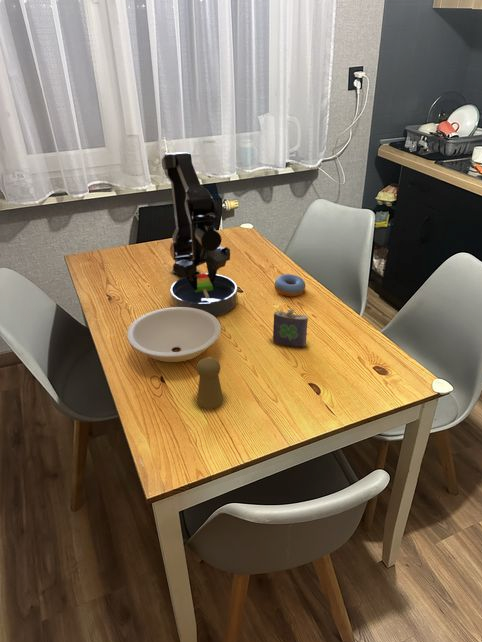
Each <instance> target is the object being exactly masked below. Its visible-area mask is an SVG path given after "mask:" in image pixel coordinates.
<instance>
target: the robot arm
mask: <svg viewBox="0 0 482 642" xmlns="http://www.w3.org/2000/svg"><path fill="white" fill-rule="evenodd" d="M161 167H162V170H163V171H164V175H165V176H166V178H167V179H168V181H169V182H170V186H171V196H172V203H173V205H172V206H173V213H174V221H175V230H174V231H173V233H172V237H171V240H172V242H171V243H170V247H169V253H170V256H171V258H172V259H173V261H174V263H173V264H172V274H175V275H177V276H180V277H181V278H183V277H186V278H187V279H188V281H189V282H190V284H191V286H192V288H193V289H194V290H195V291H196V290H197V276H198V275H199V274H201V272H200V271H199V269H197V267H200V266H201V265H203V264H206V269H207V274H208V275H209V279H210V282H214V279H215V276H216V274H218V270H220V269H221V268H224V267H226V264H227V262H229V261H230V260H231V249H230V248H229V247H228V246H222V245H221V244H222V235H221V234H220V232H218V230H216V228H215V225H214V223H219V218H218V217H219V211H218V208H217V205H216V202H215V199H214V198H213V197H212V195H211V193H210V192H209V190H208V188H206V187H204V186H202V183H201V182H200V180H199V176H198V174H197V172H196V170H195V167H194V164H193V160H192V154H191V153H190V152H185V151H184V152H169V153H164V156H162V157H161Z"/></svg>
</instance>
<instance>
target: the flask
mask: <svg viewBox="0 0 482 642" xmlns="http://www.w3.org/2000/svg"><path fill="white" fill-rule="evenodd" d="M294 311H295V309H294V308H291V309H288V310H287V312H285V311H283V310H278V311H275V312H274V314H273V326H272V327H273V330H272V342H273V343H274V344H276V345H280V346H283V347H291V348H293V347H294V348H299V349H300V348H305V347H306V345H307V337H308V336H307V335H308V322H309V318H308V316H307V315H304V314H294Z"/></svg>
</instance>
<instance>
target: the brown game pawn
mask: <svg viewBox="0 0 482 642" xmlns="http://www.w3.org/2000/svg"><path fill="white" fill-rule="evenodd" d="M196 372H197V374H198V375H199V377H198V389H197V397H196V398H197V399H196V401H197V405H198V406H199V407H201V408H202V409H207V410H211V409H216V408H219V407H220V406H221V405H222V404H223V403H224V396H223V395H224V394H223V391H222V385H221V380H220V376H219V374H220V372H221V363H220V362H219V361H218V360H217V359H216V358H214V357H204V358H202V359H200V360H199V361H198V362H197V365H196Z"/></svg>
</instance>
